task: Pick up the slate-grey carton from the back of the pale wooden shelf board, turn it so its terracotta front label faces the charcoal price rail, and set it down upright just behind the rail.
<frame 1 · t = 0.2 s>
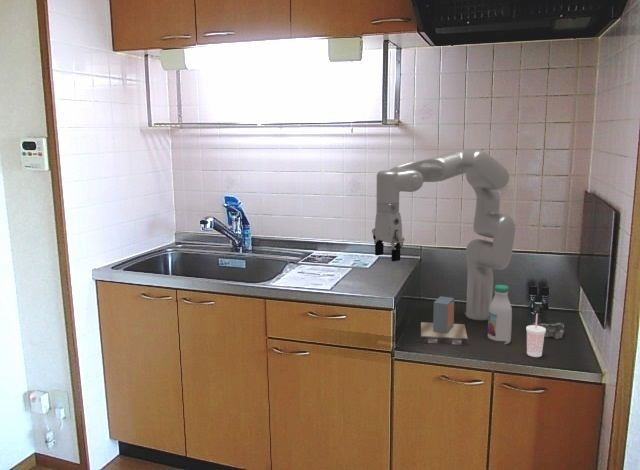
hand: (387, 257, 190), 31 cm above the countertop, tool pointing down, fingers open, 9 cm apart
beverage cup: (534, 354, 185), on the countertop
milk bottle: (498, 341, 196), on the countertop
carton: (449, 330, 203), point 1 cm above the countertop, touching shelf
egg carton: (547, 335, 202), on the countertop
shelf: (443, 336, 200), on the countertop
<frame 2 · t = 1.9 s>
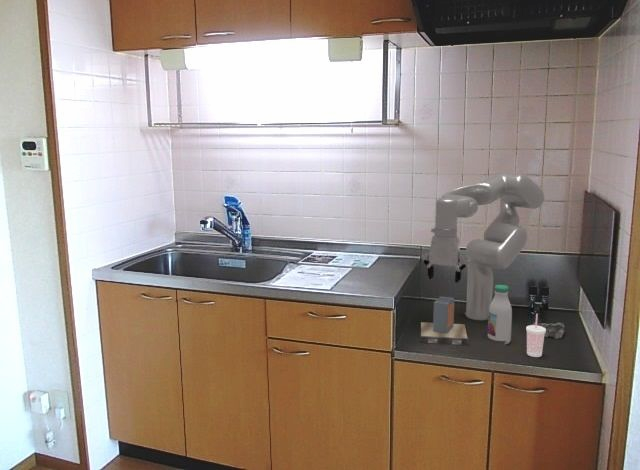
hand: (444, 279, 200), 20 cm above the countertop, tool pointing down, fingers open, 9 cm apart
nothing on the countertop moved.
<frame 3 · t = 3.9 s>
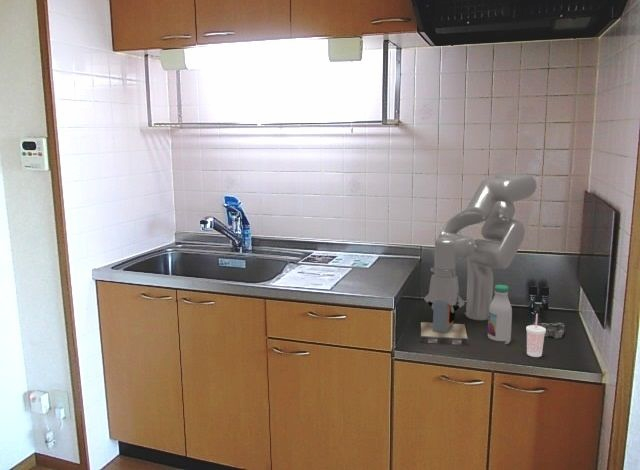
hand: (443, 320, 203), 5 cm above the countertop, tool pointing down, fingers closed on carton, 5 cm apart
carton: (449, 330, 203), point 2 cm above the countertop, touching gripper, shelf
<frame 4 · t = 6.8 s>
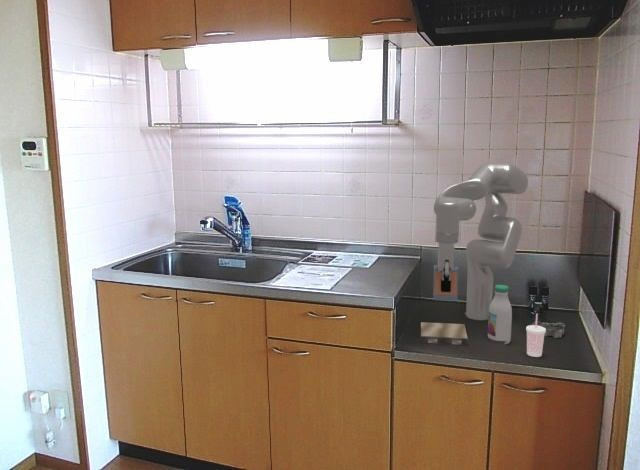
hand: (445, 288, 192), 20 cm above the countertop, tool pointing down, fingers closed on carton, 5 cm apart
carton: (445, 300, 190), point 16 cm above the countertop, touching gripper
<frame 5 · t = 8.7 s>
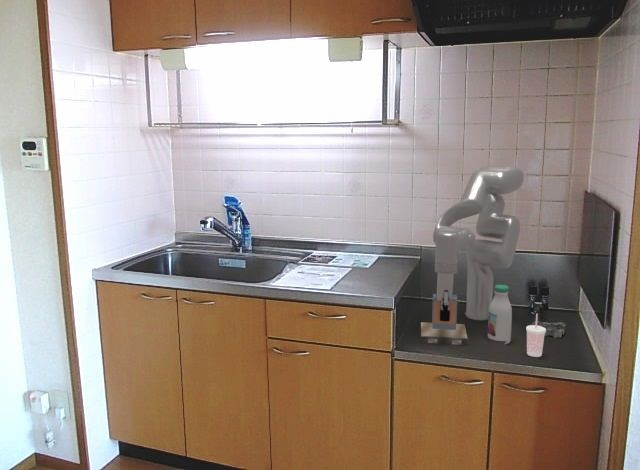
hand: (444, 317, 194), 9 cm above the countertop, tool pointing down, fingers closed on carton, 5 cm apart
carton: (444, 329, 192), point 6 cm above the countertop, touching gripper
when the fingers open (6 cm above the countertop, at t = 10.1 s): carton drops 1 cm, resting on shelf.
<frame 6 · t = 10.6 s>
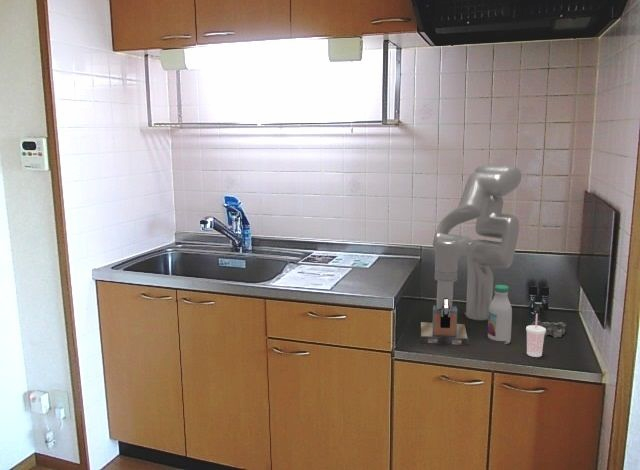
hand: (444, 322, 194), 7 cm above the countertop, tool pointing down, fingers open, 9 cm apart
carton: (444, 340, 193), point 1 cm above the countertop, touching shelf
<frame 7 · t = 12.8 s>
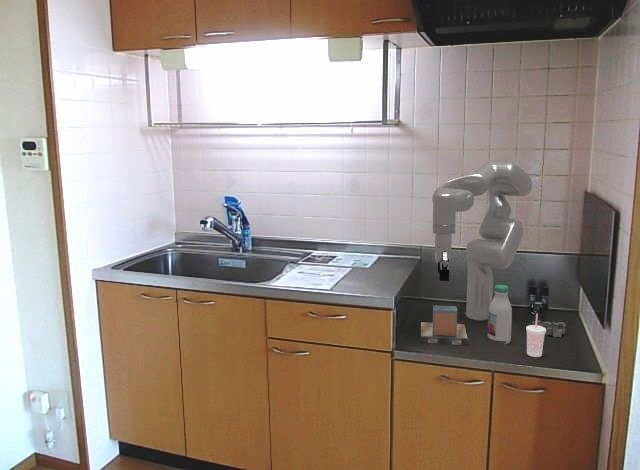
hand: (443, 276, 194), 23 cm above the countertop, tool pointing down, fingers open, 9 cm apart
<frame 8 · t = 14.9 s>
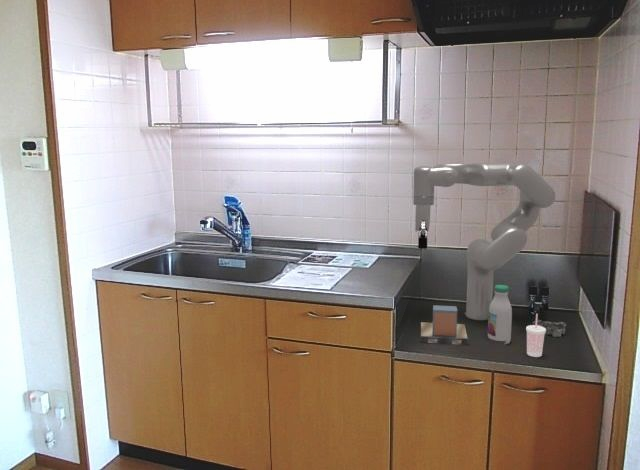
hand: (422, 245, 209), 30 cm above the countertop, tool pointing down, fingers open, 9 cm apart
at the end: carton 0.5 cm from the target spot on the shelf, point 1.5 cm above the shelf's base; carton tilted 0°; the gripper is holding nothing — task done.
